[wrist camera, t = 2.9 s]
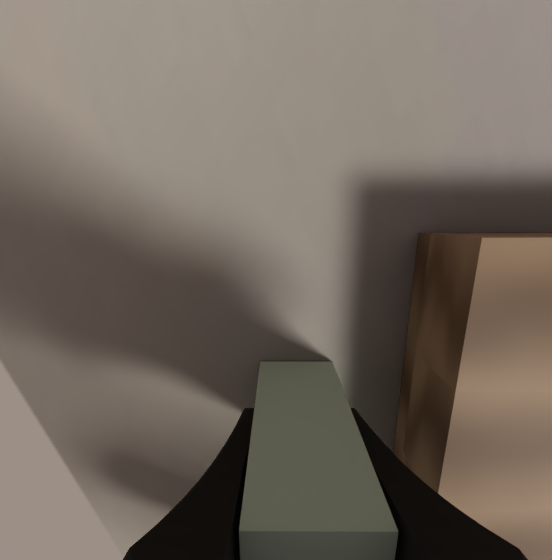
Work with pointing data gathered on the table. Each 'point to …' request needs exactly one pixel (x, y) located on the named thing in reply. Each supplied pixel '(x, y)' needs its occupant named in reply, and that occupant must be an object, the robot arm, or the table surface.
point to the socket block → (482, 381)
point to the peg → (310, 473)
